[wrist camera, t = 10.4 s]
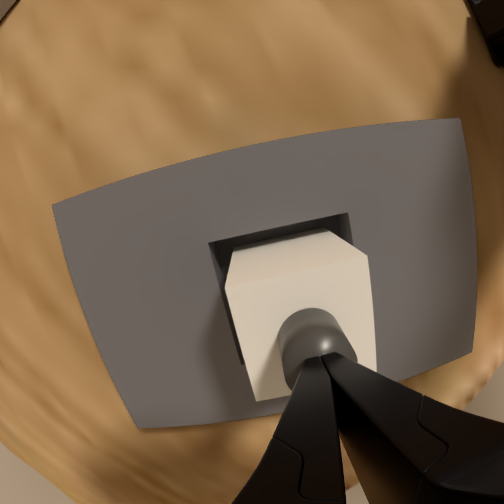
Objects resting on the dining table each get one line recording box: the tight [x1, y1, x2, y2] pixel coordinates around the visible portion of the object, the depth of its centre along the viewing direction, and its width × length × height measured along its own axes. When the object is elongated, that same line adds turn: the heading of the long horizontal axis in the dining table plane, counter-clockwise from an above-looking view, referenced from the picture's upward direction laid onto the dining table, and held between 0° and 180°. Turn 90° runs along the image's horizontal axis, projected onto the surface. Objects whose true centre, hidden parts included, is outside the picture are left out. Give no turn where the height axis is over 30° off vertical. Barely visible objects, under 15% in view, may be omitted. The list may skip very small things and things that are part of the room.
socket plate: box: [52, 118, 477, 428], centre depth 15 cm, size 20×13×2 cm, turn 103°
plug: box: [225, 227, 377, 402], centre depth 12 cm, size 4×4×8 cm
